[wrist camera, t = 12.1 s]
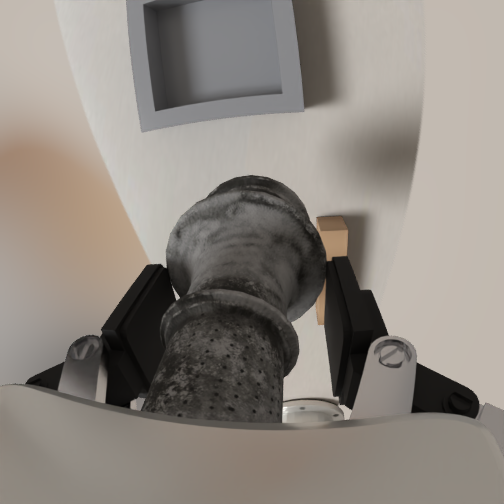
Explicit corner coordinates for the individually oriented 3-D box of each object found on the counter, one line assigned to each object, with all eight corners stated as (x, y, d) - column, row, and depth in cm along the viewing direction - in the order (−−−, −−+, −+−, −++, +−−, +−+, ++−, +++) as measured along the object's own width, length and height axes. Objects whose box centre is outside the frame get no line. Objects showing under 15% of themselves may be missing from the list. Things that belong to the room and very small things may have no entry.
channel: (336, 305, 27) (340, 323, 25) (211, 309, 28) (205, 327, 26) (341, 216, 22) (348, 230, 20) (191, 224, 24) (183, 239, 22)
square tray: (300, 109, 19) (304, 111, 16) (158, 126, 20) (141, 132, 17) (284, -20, 14) (285, -36, 11) (144, 5, 15) (125, -4, 12)
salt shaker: (275, 143, 12) (233, 459, 1) (337, 253, 14) (400, 527, 3) (167, 210, 14) (-8, 434, 3) (235, 301, 16) (183, 537, 5)
